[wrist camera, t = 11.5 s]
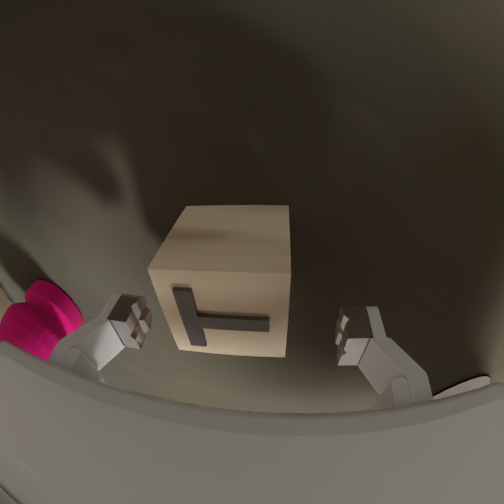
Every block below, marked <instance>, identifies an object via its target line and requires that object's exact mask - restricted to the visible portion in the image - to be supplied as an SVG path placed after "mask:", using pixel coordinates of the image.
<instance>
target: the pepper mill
mask: <svg viewBox="0 0 504 504" xmlns="http://www.w3.org/2000/svg"><path fill="white" fill-rule="evenodd" d="M82 324H83V320H82V315H81V313H80V311H79V309H78V307H77V306H76V305H75V303H74V302H73V301H72V300H71V299H70V297H69V296H68V295H67V294H66V293H64V292H63V291H62V290H61V289H60V288H58V287H57V286H55V285H54V284H52V283H50V282H48V281H45V280H37V281H35V282H34V283H33V284H32V286H31V287H30V288H29V290H28V291H27V292H26V294H25V302H22V303H15V304H12V305H11V306H10V307H9V308H8V309H7V311H6V312H5V314H4V316H3V318H2V320H1V323H0V342H1V341H8V342H10V343H12V344H13V345H15V346H17V347H19V348H21V349H23V350H25V351H27V352H29V353H31V354H33V355H35V356H37V357H40V358H42V359H44V360H46V361H48V359H49V357H50V355H51V354H52V352H53V350H54V348H55V347H56V345H57V343H58V342H59V341H60V340H61V339H63V338H64V337H66V336H67V335H69V334H70V333H72V332H73V331H75V330H76V329H78V328H79V327H81V326H82Z"/></svg>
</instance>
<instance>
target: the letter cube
mask: <svg viewBox="0 0 504 504" xmlns="http://www.w3.org/2000/svg"><path fill="white" fill-rule="evenodd" d="M148 272H149V275H150V278H151V280H152V283H153V286H154V289H155V292H156V294H157V297H158V300H159V302H160V305H161V307H162V310H163V312H164V315H165V317H166V320H167V322H168V325H169V327H170V330H171V332H172V334H173V337H174V339H175V341H176V344H177V346H178V348H179V349H180V350H188V351H196V352H206V353H216V354H228V355H243V356H261V357H285V351H286V340H287V327H288V313H289V299H290V283H291V253H290V225H289V205H209V206H186V207H185V209H184V210H183V212H182V214H181V215H180V217H179V218H178V220H177V221H176V223H175V224H174V226H173V228H172V229H171V231H170V232H169V234H168V235H167V237H166V239H165V240H164V242H163V244H162V245H161V247H160V248H159V250H158V252H157V253H156V255H155V257H154V258H153V260H152V262H151V263H150V265H149V267H148Z"/></svg>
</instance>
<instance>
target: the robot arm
mask: <svg viewBox="0 0 504 504" xmlns="http://www.w3.org/2000/svg"><path fill="white" fill-rule="evenodd" d="M146 303H147V302H146V300H145V297H143V296H137V295H130V294H122V293H113V294H112V295H111V296H110V298H109V300H108V301H107V303H106V304H105V306H104V308H103V309H102V311H101V312H100V314H99V316H98V317H97V318H96V317H95V318H93V319H91V320H90V321H88V322H87V323H85V324H84V325H82V326H81V327H79V328H78V329H76V330H75V331H73V332H72V333H70V334H69V335H67V336H66V337H64V338H63V339H61V340H60V341H59V342H58V343H57V345H56V347H55V348H54V350H53V352H52V354H51V355H50V357H49V359H48V361H46V360H44V359H42V358H40V357H37V356H35V355H33V354H31V353H29V352H27V351H25V350H23V349H21V348H19V347H17V346H15V345H13V344H12V343H10V342H8V341H1V342H0V504H504V384H502V383H500V382H496V383H492V384H490V378H489V377H487V376H483V377H478V378H474V379H471V380H469V381H466V382H463V383H461V384H459V385H456V386H454V387H452V388H450V389H448V390H445V391H443V392H441V393H439V394H437V395H435V396H432V392H431V388H430V384H429V380H428V376H427V373H426V372H425V371H424V370H423V369H422V368H421V367H420V366H419V365H418V364H417V363H416V362H415V361H414V360H413V359H412V358H411V357H410V356H409V355H408V354H407V353H406V352H405V351H403V350H402V349H401V348H400V347H399V346H398V345H397V344H396V343H395V342H394V341H393V340H392V339H391V338H387V337H386V333H385V330H384V326H383V322H382V319H381V315H380V312H379V309H378V307H377V306H365V307H364V306H361V307H341V308H340V311H339V319H338V320H337V322H336V326H335V343H336V344H337V345H338V348H337V351H336V353H337V363H338V365H358V367H359V369H360V370H361V371H362V373H363V374H364V375H365V377H366V378H367V380H368V381H369V382H370V384H371V385H372V386H373V388H374V389H375V390H376V392H377V393H378V394H379V397H378V399H377V400H376V401H375V402H374V404H373V405H372V406H371V407H370V410H366V411H354V412H339V413H270V412H254V411H242V410H232V409H224V408H216V407H209V406H202V405H196V404H190V403H184V402H179V401H174V400H169V399H164V398H160V397H155V396H151V395H147V394H143V393H139V392H135V391H131V390H128V389H124V388H121V387H117V386H114V385H111V384H107V383H104V381H105V380H104V378H103V377H102V375H101V374H100V373H99V372H98V371H99V370H100V369H101V368H103V367H104V366H105V365H106V364H107V363H108V362H109V361H110V360H111V359H112V358H114V357H115V356H116V355H117V354H118V353H119V352H120V351H121V350H123V349H124V348H125V347H131V348H136V349H141V347H142V345H143V342H144V340H145V338H146V337H145V334H144V333H145V332H147V331H148V330H149V329H150V326H151V322H152V315H151V312H150V309H148V308H147V307H146V306H145V305H146ZM124 346H125V347H124Z"/></svg>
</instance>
